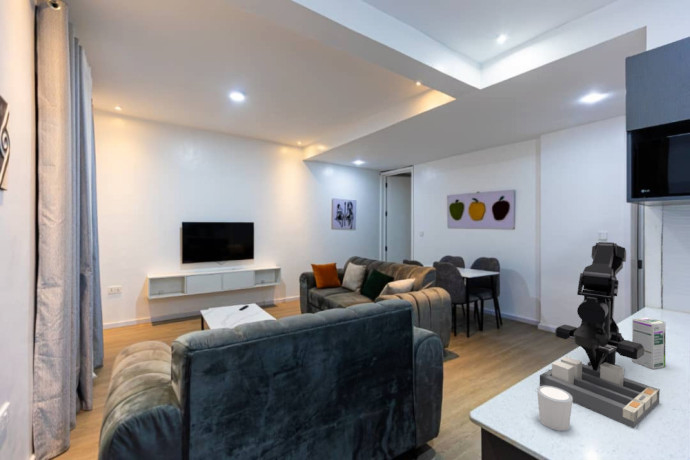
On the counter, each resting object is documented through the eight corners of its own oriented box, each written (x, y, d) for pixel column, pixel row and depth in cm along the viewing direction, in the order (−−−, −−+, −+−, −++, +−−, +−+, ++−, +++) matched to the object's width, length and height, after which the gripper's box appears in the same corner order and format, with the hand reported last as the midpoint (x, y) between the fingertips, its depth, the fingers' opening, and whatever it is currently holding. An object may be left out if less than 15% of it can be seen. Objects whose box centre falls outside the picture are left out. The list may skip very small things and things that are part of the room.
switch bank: (569, 370, 96) (569, 358, 96) (659, 402, 79) (659, 388, 79) (539, 387, 86) (539, 374, 86) (633, 428, 69) (634, 411, 69)
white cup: (557, 412, 75) (558, 384, 75) (580, 432, 68) (580, 401, 68) (530, 413, 75) (530, 385, 75) (549, 433, 68) (550, 402, 68)
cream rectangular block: (557, 379, 88) (557, 360, 87) (573, 385, 84) (574, 366, 84) (551, 382, 86) (552, 363, 86) (568, 388, 83) (568, 369, 82)
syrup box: (653, 369, 96) (654, 323, 96) (631, 361, 102) (632, 317, 101) (665, 367, 98) (666, 322, 97) (643, 359, 103) (644, 316, 103)
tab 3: (604, 380, 87) (605, 362, 86) (623, 387, 83) (623, 368, 83) (599, 384, 85) (600, 365, 85) (618, 390, 81) (619, 371, 81)
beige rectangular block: (565, 374, 90) (566, 356, 90) (581, 380, 87) (582, 361, 87) (560, 377, 89) (560, 359, 88) (576, 383, 85) (577, 364, 85)
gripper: (546, 311, 90) (545, 364, 91) (629, 331, 74) (627, 394, 75) (564, 305, 96) (563, 355, 97) (645, 322, 80) (644, 382, 81)
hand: (595, 370), depth 87 cm, fingers closed
